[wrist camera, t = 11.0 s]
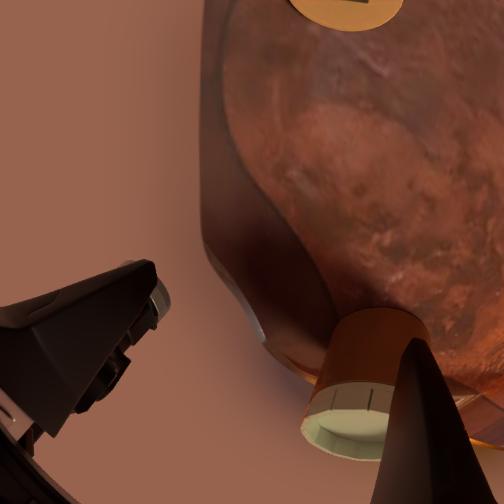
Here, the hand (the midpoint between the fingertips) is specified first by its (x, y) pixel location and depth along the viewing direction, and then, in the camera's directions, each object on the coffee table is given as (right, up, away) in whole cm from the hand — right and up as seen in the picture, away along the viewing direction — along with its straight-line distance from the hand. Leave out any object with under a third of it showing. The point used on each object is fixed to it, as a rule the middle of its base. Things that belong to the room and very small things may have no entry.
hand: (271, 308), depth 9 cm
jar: (+10, -6, +14) cm, 19 cm away
